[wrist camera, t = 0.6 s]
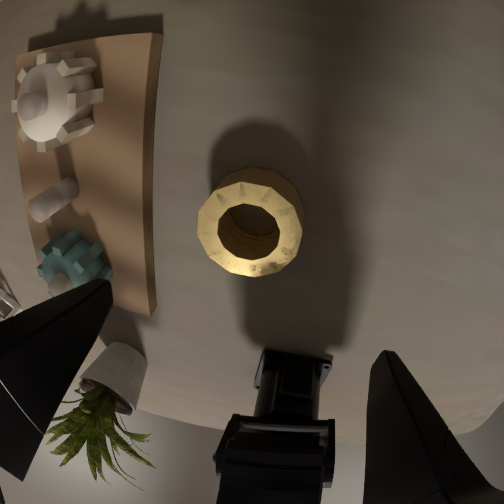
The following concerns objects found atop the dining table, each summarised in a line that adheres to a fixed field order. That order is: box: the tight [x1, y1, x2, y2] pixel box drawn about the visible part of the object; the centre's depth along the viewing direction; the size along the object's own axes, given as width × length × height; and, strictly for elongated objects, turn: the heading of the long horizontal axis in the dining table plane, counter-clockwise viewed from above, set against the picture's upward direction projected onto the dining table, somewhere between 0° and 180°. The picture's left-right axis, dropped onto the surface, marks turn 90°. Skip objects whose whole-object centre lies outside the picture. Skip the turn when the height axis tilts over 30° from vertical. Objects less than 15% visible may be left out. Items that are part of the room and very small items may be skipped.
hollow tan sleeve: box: [197, 166, 304, 277], centre depth 19 cm, size 6×6×3 cm
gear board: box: [11, 33, 163, 317], centre depth 19 cm, size 22×13×6 cm, turn 172°
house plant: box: [44, 342, 155, 487], centre depth 26 cm, size 14×14×16 cm
